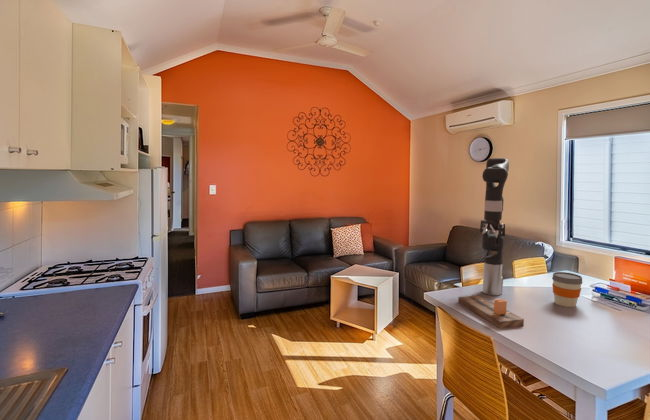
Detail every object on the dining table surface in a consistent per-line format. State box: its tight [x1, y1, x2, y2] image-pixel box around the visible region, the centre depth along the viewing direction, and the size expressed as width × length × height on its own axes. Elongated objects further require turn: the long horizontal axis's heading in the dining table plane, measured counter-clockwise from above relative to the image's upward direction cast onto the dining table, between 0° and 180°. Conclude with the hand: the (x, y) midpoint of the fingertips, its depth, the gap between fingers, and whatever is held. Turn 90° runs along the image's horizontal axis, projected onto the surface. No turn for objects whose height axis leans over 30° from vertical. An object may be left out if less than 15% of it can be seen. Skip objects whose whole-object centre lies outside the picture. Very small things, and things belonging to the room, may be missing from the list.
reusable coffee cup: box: [551, 271, 583, 308], centre depth 172 cm, size 13×13×15 cm
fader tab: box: [493, 298, 508, 315], centre depth 153 cm, size 4×3×6 cm
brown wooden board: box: [457, 294, 525, 329], centre depth 161 cm, size 12×30×3 cm, turn 12°
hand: (491, 243), depth 162 cm, fingers open, 8 cm apart
